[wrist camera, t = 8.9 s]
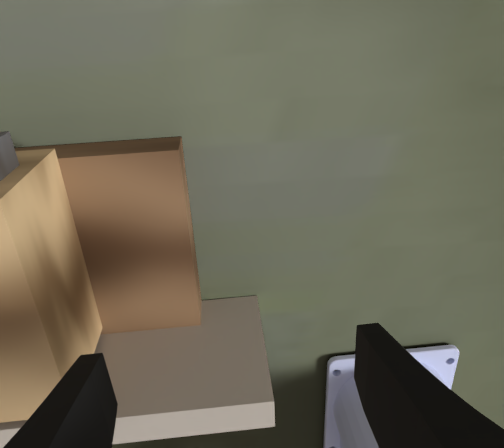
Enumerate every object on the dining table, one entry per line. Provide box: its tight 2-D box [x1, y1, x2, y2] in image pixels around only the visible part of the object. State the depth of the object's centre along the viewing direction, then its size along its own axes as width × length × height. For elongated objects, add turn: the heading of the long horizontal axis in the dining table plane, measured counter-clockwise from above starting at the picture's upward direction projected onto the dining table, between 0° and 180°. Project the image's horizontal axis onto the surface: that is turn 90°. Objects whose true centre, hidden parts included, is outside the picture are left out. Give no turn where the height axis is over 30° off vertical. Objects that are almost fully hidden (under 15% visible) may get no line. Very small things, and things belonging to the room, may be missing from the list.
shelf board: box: [0, 296, 275, 448], centre depth 20 cm, size 2×20×7 cm, turn 93°
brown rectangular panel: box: [14, 137, 201, 335], centre depth 20 cm, size 9×14×2 cm, turn 93°
